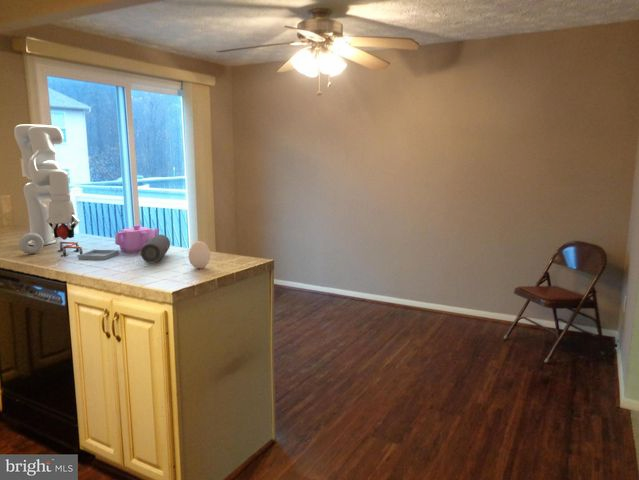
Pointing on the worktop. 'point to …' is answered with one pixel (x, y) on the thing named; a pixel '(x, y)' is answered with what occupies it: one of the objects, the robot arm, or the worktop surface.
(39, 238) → the donut
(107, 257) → the dish
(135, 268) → the worktop surface
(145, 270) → the worktop surface
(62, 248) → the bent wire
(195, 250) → the egg
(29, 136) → the robot arm
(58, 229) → the onion
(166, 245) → the bluetooth speaker
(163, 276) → the worktop surface
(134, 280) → the worktop surface
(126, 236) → the teakettle
